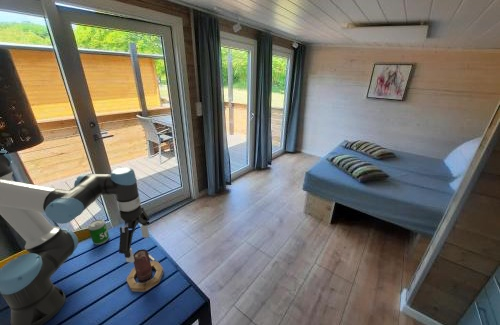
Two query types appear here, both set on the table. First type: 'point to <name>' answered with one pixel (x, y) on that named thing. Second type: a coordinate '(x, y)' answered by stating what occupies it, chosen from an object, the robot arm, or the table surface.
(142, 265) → the can
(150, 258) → the straight beige square stick
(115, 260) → the table surface
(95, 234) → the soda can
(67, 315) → the table surface
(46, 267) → the robot arm
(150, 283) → the wooden ring
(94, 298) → the table surface
